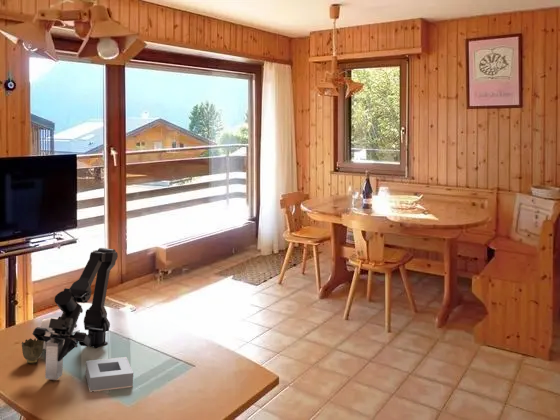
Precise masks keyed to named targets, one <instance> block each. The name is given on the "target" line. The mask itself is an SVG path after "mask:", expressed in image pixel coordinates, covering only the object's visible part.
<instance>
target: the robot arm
mask: <svg viewBox="0 0 560 420" xmlns="http://www.w3.org/2000/svg"><path fill="white" fill-rule="evenodd" d="M117 260H118V252H116V249H115V248H106V247H105V248H104V247H99V248H98V249H95V250H92V251H91V252H90V254H89V259H88V260H87V263H86V265H85V267H84V269H83V270H82V272H81V275H80V277H79V278H78V279H77V280H76V281H74V282H73V283H72V284H71V285H70V287H69V288H66V287H65V288H63V290H61V291H59V292H58V293H57V294H56V295H55V296H54V303H55V304H56V306H58V308H59V310H60V311H61V313H62V314H61V316H59V317H57V318H58V319H51V320H50V324H49V328H52V330H53V331H55V332H54V333H53V332H49V331H48V329H47V328H41V326H40V327H38V326H37V327H35V328H34V329H33V331H32V332H31V333H32V335H33V336H34V337H35V338H36V341H37V340H39V341H45V343H46V342H47V341H49V340H50V339H52V338H57V339H64V340H65V341H64V346H63V348H62V350H61V352H60V355H59V357H58V361H61V360H62V359H63V360H64V358H65V356H67V355H68V354H69V353H70V352H71V351H72V350H73V349H75V348H78V347H79V346H80V347H81V346H82V347H92V348H94V349H96V348H99V347H102V346H105V345H108V344H109V342H108V341H106V335H107V334H106V332H109V331H110V328H111V322H110V321H109V319H108V318H107V317H108V312H107V309H106V308H105V302H106V298H107V297H106V296H107V289H108V284H109V277H110V272H111V270H112V269H113V268H114V267H115V265H116V261H117ZM94 281H95V285H94V290H93V296H92V284H93V282H94ZM91 297H92V303H91V305H90V307H89V308H88V309H86V310H85V315H84V318H83V326H84V331H88V333H86V332H80V331H75V332H74V330H75V328H76V329H77V326H78V325H77V323H78V320H79V318H80V316H81V314H83V311H84V310H83V306H82V304H85V303H88V301H90V299H91ZM79 303H81V304H79ZM73 333H74V334H73ZM78 344H79V345H78ZM44 355H45V360H46V353H45V354H44Z"/></svg>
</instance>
